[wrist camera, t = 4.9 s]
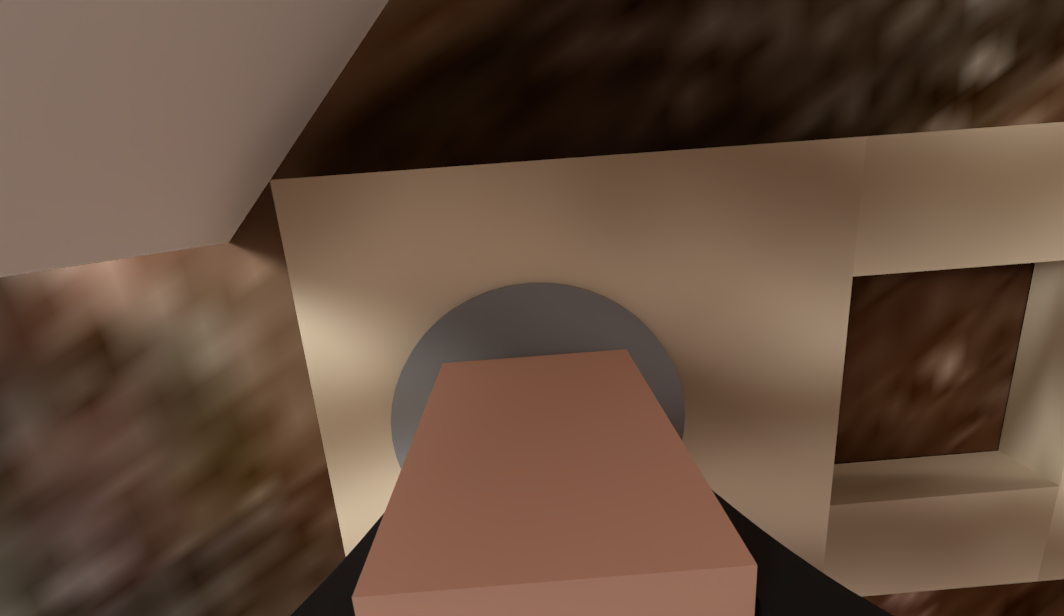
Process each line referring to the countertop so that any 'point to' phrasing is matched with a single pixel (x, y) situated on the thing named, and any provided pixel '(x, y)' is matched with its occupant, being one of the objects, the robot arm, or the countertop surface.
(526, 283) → the pocket board
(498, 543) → the terracotta block
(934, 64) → the countertop surface
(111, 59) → the milk
